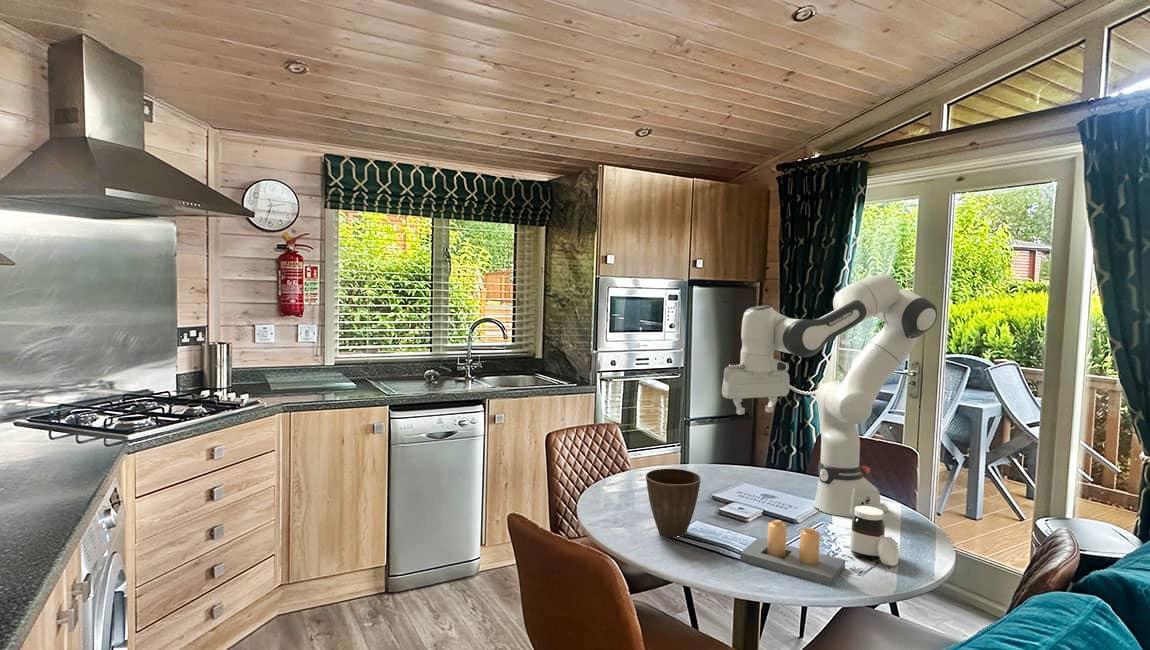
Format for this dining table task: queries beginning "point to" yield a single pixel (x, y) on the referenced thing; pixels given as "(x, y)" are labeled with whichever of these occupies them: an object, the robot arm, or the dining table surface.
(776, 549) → the orange peg
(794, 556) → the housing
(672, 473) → the plant pot
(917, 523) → the dining table surface
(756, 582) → the dining table surface
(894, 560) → the spread jar
